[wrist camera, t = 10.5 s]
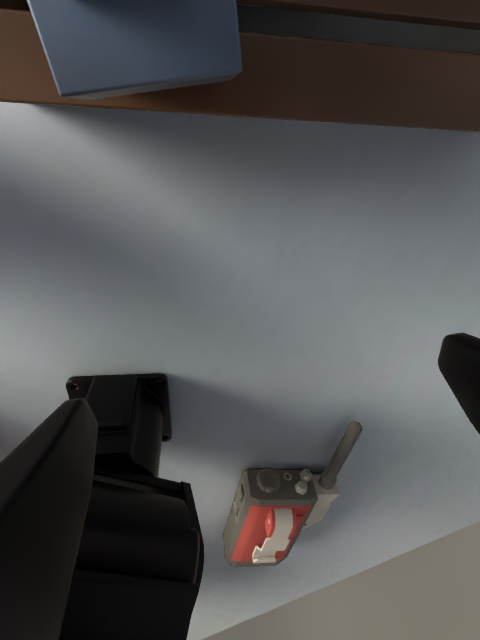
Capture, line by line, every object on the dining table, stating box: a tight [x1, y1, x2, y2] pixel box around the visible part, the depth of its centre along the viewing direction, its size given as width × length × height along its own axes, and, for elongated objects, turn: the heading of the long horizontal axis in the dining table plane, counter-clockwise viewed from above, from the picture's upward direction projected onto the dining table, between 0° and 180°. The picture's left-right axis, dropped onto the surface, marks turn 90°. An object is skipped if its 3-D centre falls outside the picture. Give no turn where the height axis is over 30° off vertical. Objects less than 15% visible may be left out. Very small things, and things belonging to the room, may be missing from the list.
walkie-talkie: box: [223, 421, 362, 567], centre depth 30 cm, size 9×4×20 cm
